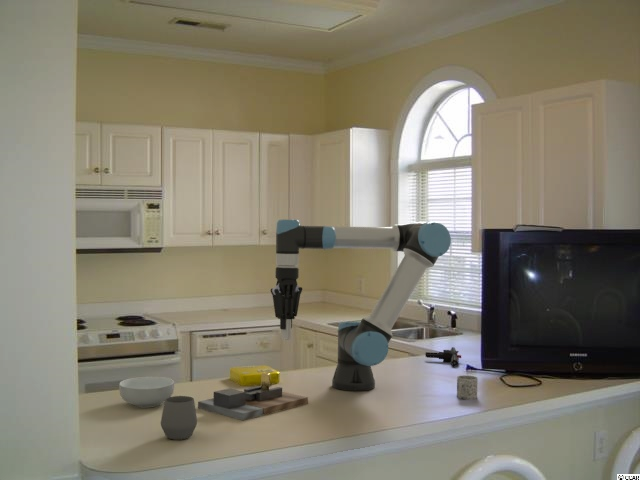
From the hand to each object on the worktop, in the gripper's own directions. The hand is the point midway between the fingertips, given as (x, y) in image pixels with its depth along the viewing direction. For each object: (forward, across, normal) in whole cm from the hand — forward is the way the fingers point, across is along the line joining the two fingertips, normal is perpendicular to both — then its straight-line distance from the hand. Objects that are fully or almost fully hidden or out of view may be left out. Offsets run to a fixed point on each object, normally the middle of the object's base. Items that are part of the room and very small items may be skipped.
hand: (285, 338), depth 232 cm
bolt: (+17, +12, 0) cm, 21 cm away
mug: (+20, -43, +42) cm, 63 cm away
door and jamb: (+19, +15, 0) cm, 25 cm away
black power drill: (+20, -95, +3) cm, 97 cm away
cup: (+20, +51, +10) cm, 56 cm away
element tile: (+20, -12, -27) cm, 36 cm away
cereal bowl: (+20, +36, -25) cm, 48 cm away
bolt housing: (+17, +16, 0) cm, 24 cm away
